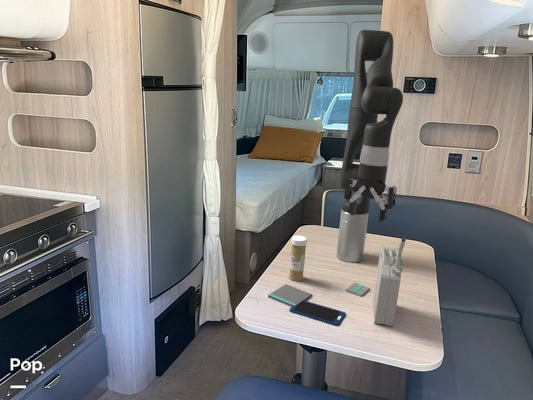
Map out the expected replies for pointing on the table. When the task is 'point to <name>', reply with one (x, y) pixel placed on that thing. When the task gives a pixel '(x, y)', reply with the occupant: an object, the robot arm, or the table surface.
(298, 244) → the sprinkles bottle
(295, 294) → the mat
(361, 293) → the label tag
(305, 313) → the cell phone
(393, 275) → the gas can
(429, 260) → the table surface
